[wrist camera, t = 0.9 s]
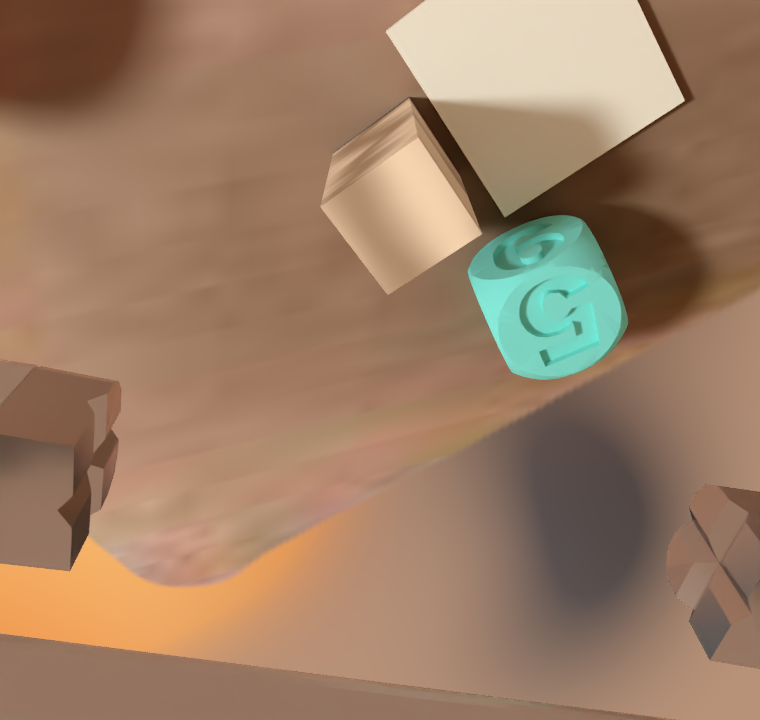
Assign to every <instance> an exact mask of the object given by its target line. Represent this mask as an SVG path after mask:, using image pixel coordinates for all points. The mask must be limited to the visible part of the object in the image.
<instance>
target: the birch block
mask: <svg viewBox="0 0 760 720" xmlns="http://www.w3.org/2000/svg"><path fill="white" fill-rule="evenodd" d="M321 208H322V209H323V211H324V212H325V213H326V215H327V216H328V217H329V219H330V220H331V221H332V223H333V224H334V225H335V227H336V228H337V229H338V230H339V232H340V233H341V234H342V236H343V237H344V238H345V240H346V241H347V242H348V244H349V245H350V246H351V247H352V249H353V250H354V251H355V253H356V254H357V255H358V257H359V258H360V259H361V261H362V262H363V263H364V265H365V266H366V267H367V268H368V270H369V271H370V272H371V274H372V275H373V276H374V278H375V279H376V280H377V282H378V283H379V284H380V285H381V287H382V288H383V289H384V291H385V292H386V293H387V295H388V294H390V293H391V292H393V291H395V290H396V289H398V288H399V287H401V286H402V285H404V284H405V283H407V282H408V281H410V280H412V279H413V278H415V277H416V276H418V275H419V274H421V273H422V272H424V271H426V270H427V269H429V268H430V267H432V266H433V265H435V264H436V263H438V262H439V261H441V260H443V259H444V258H446V257H447V256H449V255H450V254H452V253H453V252H455V251H456V250H458V249H460V248H461V247H463V246H464V245H466V244H467V243H469V242H470V241H472V240H473V239H475V238H477V237H478V236H480V235H481V234H482V232H481V229H480V227H479V224H478V222H477V219H476V216H475V214H474V211H473V208H472V206H471V203H470V201H469V198H468V195H467V193H466V190H465V187H464V185H463V182H462V180H461V177H460V174H459V173H458V171H457V170H456V168H455V167H454V165H453V164H452V162H451V161H450V159H449V158H448V156H447V154H446V153H445V151H444V150H443V148H442V147H441V145H440V144H439V142H438V141H437V139H436V138H435V136H434V135H433V133H432V131H431V130H430V128H429V127H428V125H427V124H426V122H425V121H424V119H423V118H422V116H421V115H420V113H419V111H418V110H417V108H416V107H415V105H414V104H413V102H412V101H411V99H410V98H407V99H406V100H404V101H403V102H402V103H400V104H399V105H398V106H396V107H395V108H394V109H392V110H391V111H389V112H388V113H387V114H385V115H384V116H383V117H381V118H380V119H379V120H377V121H376V122H374V123H373V124H372V125H370V126H369V127H368V128H366V129H365V130H364V131H362V132H361V133H359V134H358V135H357V136H355V137H354V138H353V139H351V140H350V141H349V142H347V143H346V144H344V145H343V146H342V147H340V148H339V149H338V150H336V151H335V152H334V153H333V157H332V161H331V165H330V169H329V173H328V177H327V182H326V186H325V190H324V194H323V198H322V202H321Z"/></svg>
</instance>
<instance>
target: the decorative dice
mask: <svg viewBox="0 0 760 720" xmlns="http://www.w3.org/2000/svg"><path fill="white" fill-rule="evenodd" d="M468 275H469V278H470V281H471V284H472V287H473V289H474V292H475V294H476V297H477V299H478V302H479V304H480V307H481V309H482V311H483V314H484V316H485V318H486V321H487V323H488V325H489V327H490V330H491V332H492V334H493V336H494V338H495V341H496V343H497V345H498V347H499V349H500V351H501V353H502V355H503V357H504V359H505V361H506V363H507V365H508V367H509V368H510V370H511V371H512V373H515V374H517V375H520V376H523V377H527V378H533V379H542V380H545V379H556V378H562V377H566V376H570V375H573V374H576V373H578V372H581V371H583V370H585V369H587V368H589V367H591V366H593V365H594V364H596V363H598V362H599V361H601V360H602V359H603V358H605V357H606V356H607V355H608V354H609V353H610V352H611V351H612V350H613V349H614V348H615V346H616V345H617V344H618V342H619V341H620V339H621V338H622V336H623V334H624V332H625V330H626V328H627V326H628V317H627V313H626V309H625V306H624V303H623V300H622V297H621V295H620V292H619V289H618V287H617V284H616V282H615V280H614V277H613V275H612V272H611V270H610V268H609V266H608V264H607V261H606V259H605V257H604V255H603V253H602V251H601V249H600V247H599V245H598V243H597V241H596V239H595V237H594V236H593V234H592V232H591V231H590V229H589V227H588V226H587V224H586V223H585V222H584V221H583V220H582V219H580V218H577V217H574V216H569V215H555V216H548V217H543V218H539V219H536V220H533V221H530V222H527V223H524V224H522V225H519V226H517V227H515V228H513V229H511V230H509V231H507V232H505V233H503V234H501V235H500V236H498V237H497V238H495V239H494V240H492V241H491V242H489V243H488V244H487V245H486V246H484V247H483V248H482V249H481V250H480V251H479V252H478V253H477V255H476V256H475V257H474V259H473V260H472V262H471V265H470V267H469V269H468Z"/></svg>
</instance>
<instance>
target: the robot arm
mask: <svg viewBox="0 0 760 720" xmlns="http://www.w3.org/2000/svg"><path fill="white" fill-rule="evenodd" d="M120 411H121V387H120V384H119V381H114V380H109V379H104V378H99V377H93V376H88V375H83V374H78V373H73V372H67V371H62V370H57V369H52V368H47V367H38V366H37V365H33V364H27V363H20V362H14V361H8V360H1V359H0V563H3V564H11V565H20V566H28V567H37V568H46V569H55V570H64V571H70V570H71V568H72V566H73V564H74V562H75V560H76V558H77V556H78V554H79V552H80V550H81V548H82V546H83V544H84V542H85V540H86V538H87V536H88V534H89V526H90V515H91V514H93V513H95V512H97V511H99V510H101V508H102V506H103V504H104V501H105V499H106V497H107V495H108V492H109V489H110V486H111V482H112V479H113V476H114V472H115V466H116V460H117V453H118V441H119V440H118V438H117V437H116V435H115V434H114V433H113V431H112V430H111V428H112V426H113V424H114V422H115V420H116V419H117V417H118V415H119V413H120ZM689 510H690V514H691V517H692V521H690V522H689V523H687V524H685V525H684V526H682V527H681V528H679V529H678V530H676V532H675V534H674V536H673V538H672V540H671V542H670V544H669V547H668V549H667V560H666V571H667V576H668V581H669V583H670V585H671V587H672V589H673V591H674V593H675V595H676V597H678V598H679V599H680V600H681V601H682V602H684V603H685V604H686V605H687V606H688V607H690V608H691V609H692V613H691V616H690V619H689V622H690V624H691V626H692V628H693V630H694V631H695V633H696V635H697V637H698V639H699V641H700V643H701V645H702V646H703V648H704V650H705V652H706V654H707V656H708V658H709V660H711V661H716V662H722V663H728V664H734V665H740V666H746V667H753V668H758V669H760V492H757V491H750V490H743V489H736V488H729V487H722V486H715V485H707V484H705V485H704V486H703V487H702V488H701V489H700V490H699V491H697V492H696V494H695V496H694V498H693V499H692V501H691V503H690V505H689ZM0 720H675V719H667V718H659V717H651V716H644V715H636V714H628V713H620V712H612V711H604V710H596V709H588V708H580V707H572V706H564V705H556V704H548V703H540V702H532V701H524V700H516V699H508V698H500V697H493V696H485V695H477V694H469V693H461V692H453V691H445V690H437V689H430V688H422V687H414V686H406V685H399V684H391V683H382V682H375V681H367V680H359V679H351V678H343V677H336V676H327V675H320V674H312V673H304V672H297V671H288V670H281V669H273V668H265V667H257V666H250V665H241V664H234V663H226V662H218V661H210V660H203V659H195V658H186V657H179V656H171V655H163V654H155V653H148V652H140V651H132V650H124V649H116V648H109V647H101V646H92V645H85V644H77V643H69V642H62V641H54V640H45V639H38V638H30V637H22V636H13V635H7V634H0Z"/></svg>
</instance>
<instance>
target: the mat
mask: <svg viewBox="0 0 760 720" xmlns="http://www.w3.org/2000/svg"><path fill="white" fill-rule="evenodd" d="M386 32H387V34H388V36H389V37H390V39H391V40H392V42H393V43H394V45H395V47H396V48H397V50H398V51H399V53H400V54H401V56H402V57H403V59H404V61H405V62H406V64H407V65H408V67H409V68H410V70H411V72H412V73H413V75H414V76H415V78H416V79H417V81H418V83H419V84H420V86H421V87H422V89H423V90H424V92H425V93H426V95H427V97H428V98H429V100H430V101H431V103H432V104H433V106H434V108H435V109H436V111H437V112H438V114H439V115H440V117H441V118H442V120H443V122H444V123H445V125H446V126H447V128H448V129H449V131H450V133H451V134H452V136H453V137H454V139H455V140H456V142H457V143H458V145H459V147H460V148H461V150H462V151H463V153H464V154H465V156H466V158H467V159H468V161H469V162H470V164H471V165H472V167H473V168H474V170H475V172H476V173H477V175H478V176H479V178H480V179H481V181H482V183H483V184H484V186H485V187H486V189H487V190H488V192H489V193H490V195H491V197H492V198H493V200H494V201H495V203H496V204H497V206H498V208H499V209H500V211H501V212H502V214H503V215H504V217H506V216H508V215H509V214H511V213H513V212H514V211H516V210H517V209H519V208H520V207H522V206H523V205H525V204H526V203H528V202H530V201H531V200H533V199H534V198H536V197H537V196H539V195H540V194H542V193H543V192H545V191H546V190H548V189H550V188H551V187H553V186H554V185H556V184H557V183H559V182H560V181H562V180H563V179H565V178H567V177H568V176H570V175H571V174H573V173H574V172H576V171H577V170H579V169H580V168H582V167H584V166H585V165H587V164H588V163H590V162H591V161H593V160H594V159H596V158H597V157H599V156H601V155H602V154H604V153H605V152H607V151H608V150H610V149H611V148H613V147H614V146H616V145H618V144H619V143H621V142H622V141H624V140H625V139H627V138H628V137H630V136H631V135H633V134H635V133H636V132H638V131H639V130H641V129H642V128H644V127H645V126H647V125H648V124H650V123H651V122H653V121H655V120H656V119H658V118H659V117H661V116H662V115H664V114H665V113H667V112H668V111H670V110H672V109H673V108H675V107H676V106H678V105H679V104H681V103H682V102H684V101H685V100H684V98H683V96H682V94H681V91H680V89H679V87H678V85H677V83H676V81H675V79H674V77H673V75H672V73H671V70H670V68H669V66H668V64H667V62H666V60H665V58H664V56H663V54H662V51H661V49H660V47H659V45H658V43H657V41H656V39H655V37H654V35H653V33H652V30H651V28H650V26H649V24H648V22H647V20H646V18H645V16H644V14H643V12H642V9H641V7H640V5H639V3H638V1H637V0H425V1H423V2H422V3H421V4H420V5H418V6H417V7H416V8H414V9H413V10H412V11H411V12H409V13H408V14H407V15H405V16H404V17H403V18H401V19H400V20H399V21H398V22H396V23H395V24H394V25H392V26H391V27H390V28H389V29H387V30H386Z"/></svg>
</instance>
